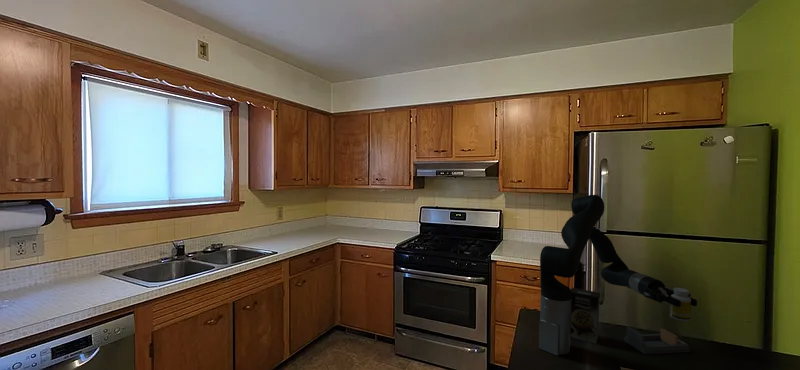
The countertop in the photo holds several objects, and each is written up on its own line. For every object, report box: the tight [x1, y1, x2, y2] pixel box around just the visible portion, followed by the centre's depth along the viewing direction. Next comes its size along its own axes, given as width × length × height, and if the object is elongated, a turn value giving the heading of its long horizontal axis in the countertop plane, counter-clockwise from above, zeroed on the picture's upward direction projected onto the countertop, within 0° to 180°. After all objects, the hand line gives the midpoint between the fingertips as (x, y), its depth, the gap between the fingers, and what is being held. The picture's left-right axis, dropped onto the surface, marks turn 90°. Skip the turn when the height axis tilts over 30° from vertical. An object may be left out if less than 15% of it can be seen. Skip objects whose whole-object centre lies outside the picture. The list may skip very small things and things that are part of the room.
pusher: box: [660, 328, 679, 345], centre depth 117 cm, size 1×6×4 cm, turn 6°
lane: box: [623, 326, 691, 355], centre depth 116 cm, size 16×9×5 cm, turn 96°
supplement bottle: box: [669, 287, 692, 322], centre depth 117 cm, size 5×5×10 cm
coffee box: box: [570, 287, 601, 344], centre depth 122 cm, size 9×6×16 cm
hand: (687, 303), depth 114 cm, fingers closed on supplement bottle, 5 cm apart
